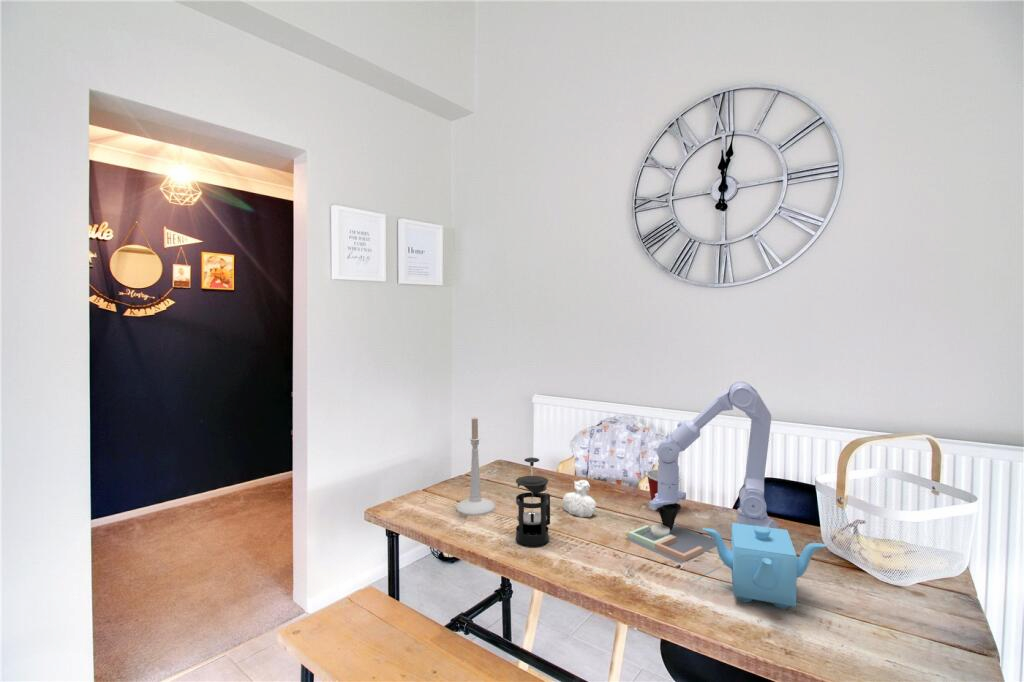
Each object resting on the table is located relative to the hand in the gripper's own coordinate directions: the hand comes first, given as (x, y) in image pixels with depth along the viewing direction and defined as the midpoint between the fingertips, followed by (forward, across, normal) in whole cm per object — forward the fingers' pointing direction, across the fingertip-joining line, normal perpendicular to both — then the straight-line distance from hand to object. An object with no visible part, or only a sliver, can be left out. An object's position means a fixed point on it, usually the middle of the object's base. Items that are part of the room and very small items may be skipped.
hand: (667, 528), depth 145 cm
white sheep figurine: (+2, +9, -26) cm, 28 cm away
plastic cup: (+2, -13, -12) cm, 18 cm away
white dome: (+1, +4, 0) cm, 4 cm away
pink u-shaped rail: (+1, +8, +9) cm, 12 cm away
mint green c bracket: (+1, +8, 0) cm, 8 cm away
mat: (+1, +4, +4) cm, 6 cm away
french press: (+2, +33, -20) cm, 39 cm away
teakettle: (+2, +11, +33) cm, 34 cm away
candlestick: (+2, +33, -50) cm, 60 cm away
